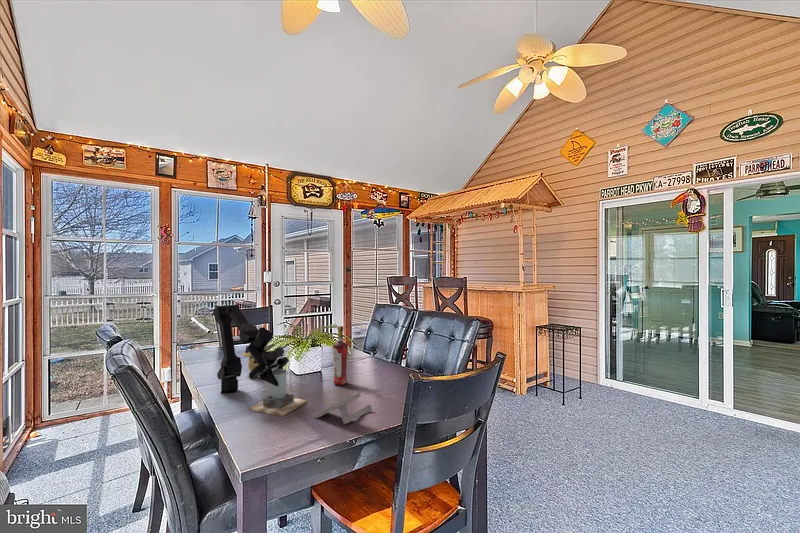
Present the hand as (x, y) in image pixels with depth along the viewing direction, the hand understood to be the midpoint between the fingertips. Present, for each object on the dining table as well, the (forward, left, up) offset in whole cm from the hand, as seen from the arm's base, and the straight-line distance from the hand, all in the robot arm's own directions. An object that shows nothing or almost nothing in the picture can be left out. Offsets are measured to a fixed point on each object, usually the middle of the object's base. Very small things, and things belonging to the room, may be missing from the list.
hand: (281, 384), depth 157 cm
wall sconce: (-13, +53, -9) cm, 55 cm away
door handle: (+23, -17, -10) cm, 30 cm away
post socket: (-1, +1, -9) cm, 9 cm away
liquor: (+28, +23, -9) cm, 37 cm away
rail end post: (-1, +1, -7) cm, 7 cm away
